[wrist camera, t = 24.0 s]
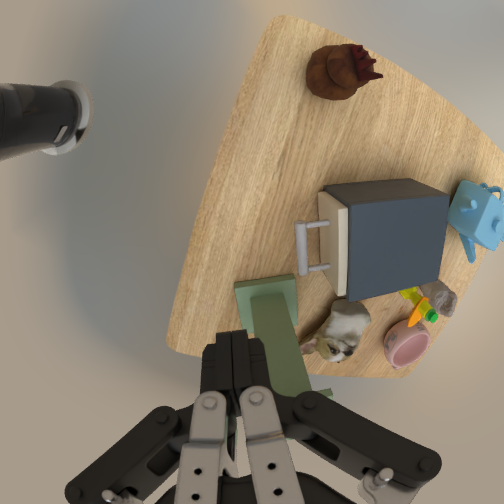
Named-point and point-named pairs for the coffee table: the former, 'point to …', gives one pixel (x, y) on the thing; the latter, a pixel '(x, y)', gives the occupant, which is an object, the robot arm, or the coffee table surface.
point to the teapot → (477, 216)
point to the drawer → (327, 242)
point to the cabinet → (392, 235)
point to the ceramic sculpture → (338, 332)
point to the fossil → (440, 297)
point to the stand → (276, 330)
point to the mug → (405, 344)
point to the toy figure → (418, 307)
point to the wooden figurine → (339, 71)
